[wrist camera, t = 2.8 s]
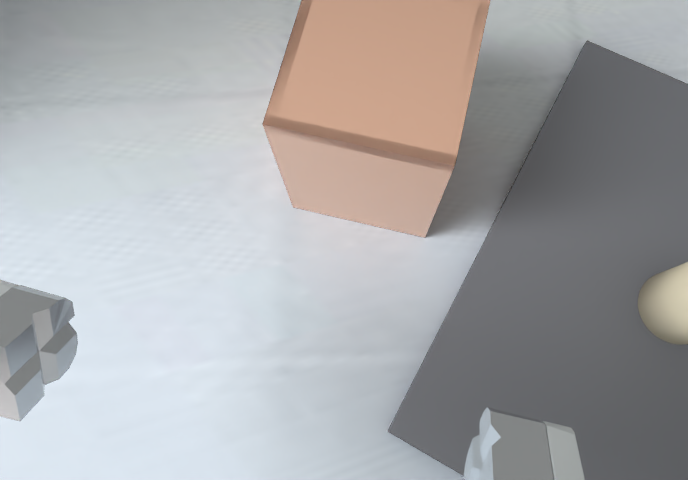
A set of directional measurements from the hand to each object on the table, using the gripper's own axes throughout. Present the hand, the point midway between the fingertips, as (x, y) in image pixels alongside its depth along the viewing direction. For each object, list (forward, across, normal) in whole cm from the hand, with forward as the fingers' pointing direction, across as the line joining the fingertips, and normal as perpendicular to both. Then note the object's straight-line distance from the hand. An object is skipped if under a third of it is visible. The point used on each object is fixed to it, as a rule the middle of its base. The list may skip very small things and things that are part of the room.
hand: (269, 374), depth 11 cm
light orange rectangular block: (+16, 0, +2) cm, 16 cm away
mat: (+14, -13, +4) cm, 20 cm away
